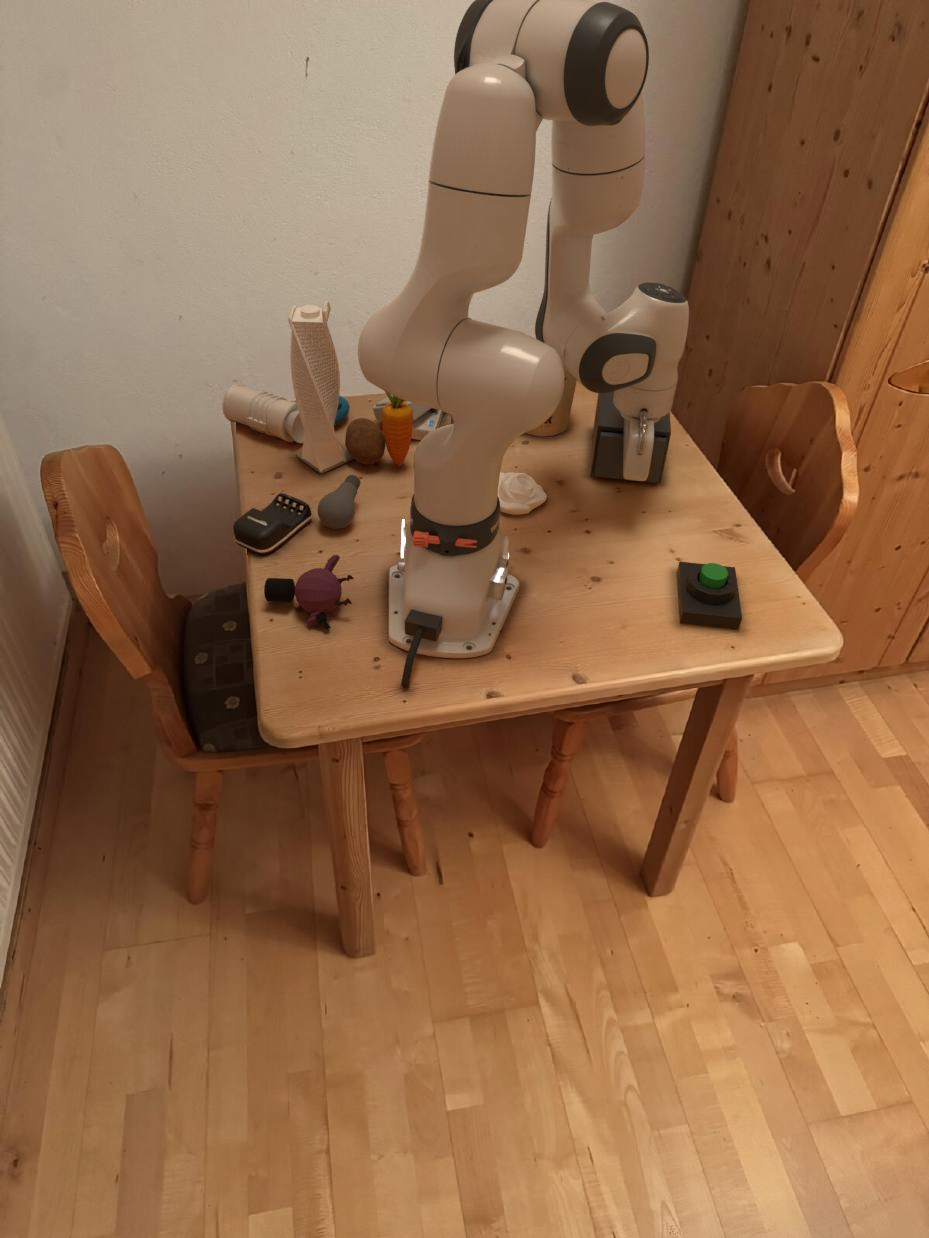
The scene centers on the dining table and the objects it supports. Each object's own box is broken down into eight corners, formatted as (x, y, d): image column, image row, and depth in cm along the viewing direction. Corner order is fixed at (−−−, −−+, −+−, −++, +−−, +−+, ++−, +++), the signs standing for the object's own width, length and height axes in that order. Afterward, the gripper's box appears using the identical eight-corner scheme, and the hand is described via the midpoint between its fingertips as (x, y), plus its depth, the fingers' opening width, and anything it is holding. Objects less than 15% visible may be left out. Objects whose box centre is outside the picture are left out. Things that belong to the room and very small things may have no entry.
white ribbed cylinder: (294, 453, 151) (227, 429, 157) (319, 431, 155) (252, 408, 161) (286, 420, 146) (217, 397, 152) (311, 398, 150) (243, 375, 156)
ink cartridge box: (445, 399, 161) (392, 393, 162) (434, 430, 153) (379, 424, 154) (444, 411, 163) (392, 405, 164) (434, 443, 155) (379, 436, 156)
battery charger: (312, 500, 135) (262, 538, 128) (314, 520, 137) (265, 559, 130) (277, 485, 137) (225, 522, 130) (280, 505, 140) (229, 543, 133)
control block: (738, 629, 122) (745, 608, 119) (679, 623, 123) (685, 601, 120) (731, 578, 130) (738, 557, 127) (676, 572, 130) (681, 551, 128)
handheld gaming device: (409, 400, 150) (415, 422, 151) (450, 372, 160) (456, 392, 162) (367, 405, 154) (373, 425, 156) (410, 377, 165) (416, 396, 167)
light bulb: (378, 488, 139) (351, 535, 134) (351, 491, 142) (324, 537, 137) (360, 462, 135) (331, 510, 130) (333, 465, 138) (304, 512, 133)
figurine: (262, 628, 120) (348, 632, 118) (253, 574, 116) (342, 577, 115) (281, 602, 127) (363, 605, 125) (274, 550, 123) (358, 553, 122)
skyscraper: (360, 462, 149) (349, 299, 130) (321, 480, 145) (304, 315, 126) (329, 441, 154) (315, 281, 135) (290, 458, 149) (270, 296, 130)
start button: (726, 590, 122) (729, 581, 121) (699, 587, 123) (702, 578, 121) (724, 574, 125) (726, 564, 124) (698, 571, 125) (700, 561, 124)
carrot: (377, 467, 149) (373, 385, 138) (396, 454, 152) (394, 374, 141) (400, 477, 147) (398, 395, 136) (419, 465, 150) (418, 383, 139)
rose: (486, 458, 144) (546, 459, 144) (485, 481, 147) (543, 481, 147) (488, 493, 136) (551, 494, 136) (486, 517, 139) (548, 518, 139)
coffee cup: (497, 428, 159) (502, 349, 149) (526, 400, 166) (532, 323, 156) (557, 446, 155) (566, 367, 145) (583, 417, 162) (594, 339, 152)
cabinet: (660, 483, 148) (671, 432, 141) (590, 476, 148) (597, 425, 142) (658, 436, 158) (668, 387, 152) (592, 430, 159) (599, 381, 152)
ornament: (324, 416, 152) (282, 397, 156) (327, 438, 155) (287, 419, 160) (356, 394, 156) (315, 376, 161) (359, 417, 160) (319, 398, 164)
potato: (337, 415, 149) (343, 446, 154) (347, 445, 142) (352, 478, 147) (376, 407, 150) (381, 439, 154) (387, 438, 143) (391, 470, 148)
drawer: (658, 487, 145) (666, 445, 140) (594, 480, 146) (600, 439, 141) (656, 439, 156) (664, 399, 150) (596, 434, 157) (602, 394, 151)
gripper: (667, 432, 125) (650, 512, 134) (663, 364, 140) (649, 440, 149) (622, 428, 125) (608, 508, 135) (623, 361, 140) (611, 437, 150)
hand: (629, 472), depth 142 cm, fingers closed
